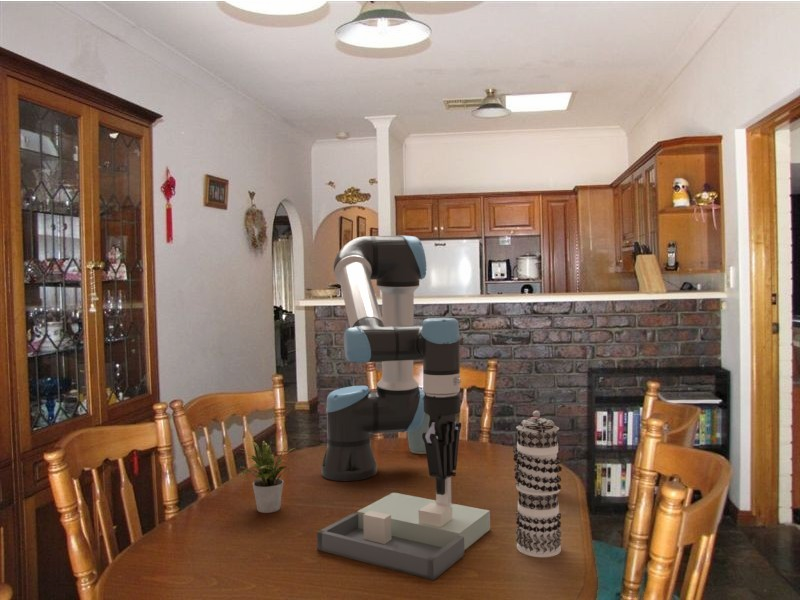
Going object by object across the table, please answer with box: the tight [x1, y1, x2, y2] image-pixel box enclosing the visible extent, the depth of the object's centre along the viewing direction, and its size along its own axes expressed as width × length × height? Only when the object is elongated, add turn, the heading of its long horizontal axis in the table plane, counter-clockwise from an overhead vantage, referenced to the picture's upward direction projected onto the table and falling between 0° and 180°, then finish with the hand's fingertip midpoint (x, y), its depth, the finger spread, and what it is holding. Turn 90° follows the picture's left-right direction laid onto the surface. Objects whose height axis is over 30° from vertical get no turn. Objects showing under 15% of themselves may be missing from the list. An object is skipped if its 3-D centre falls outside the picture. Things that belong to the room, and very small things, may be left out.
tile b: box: [418, 503, 452, 527], centre depth 129 cm, size 5×5×2 cm
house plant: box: [240, 439, 295, 514], centre depth 150 cm, size 14×14×16 cm
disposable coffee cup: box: [406, 413, 430, 455], centre depth 198 cm, size 11×11×15 cm
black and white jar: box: [512, 416, 563, 558], centre depth 125 cm, size 9×9×25 cm
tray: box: [316, 512, 465, 581], centre depth 124 cm, size 26×12×4 cm, turn 58°
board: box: [356, 491, 491, 551], centre depth 135 cm, size 24×14×4 cm, turn 58°
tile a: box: [363, 511, 391, 544], centre depth 129 cm, size 5×5×2 cm
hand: (443, 508), depth 132 cm, fingers closed
